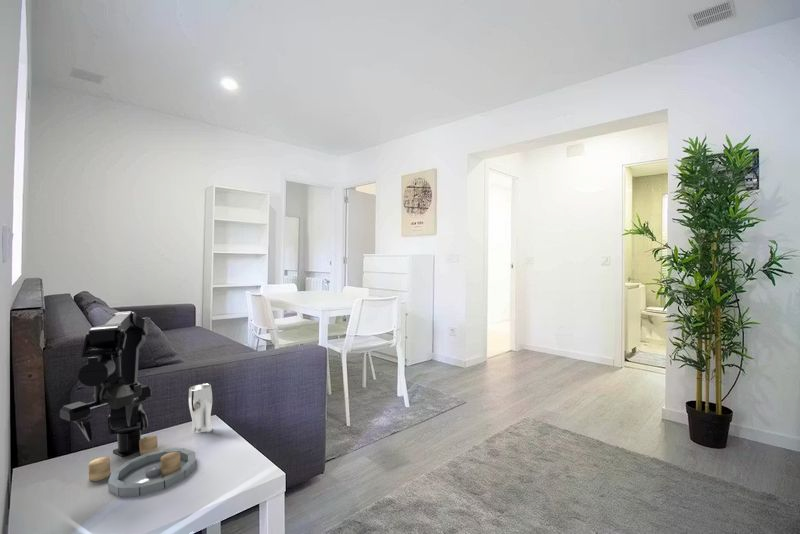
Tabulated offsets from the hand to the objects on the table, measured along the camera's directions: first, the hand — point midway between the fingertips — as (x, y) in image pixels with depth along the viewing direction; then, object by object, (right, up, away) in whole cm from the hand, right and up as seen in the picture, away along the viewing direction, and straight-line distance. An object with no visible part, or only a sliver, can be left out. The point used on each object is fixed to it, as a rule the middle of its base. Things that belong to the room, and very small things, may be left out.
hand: (110, 433), depth 100 cm
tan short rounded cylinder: (+16, -11, -1) cm, 19 cm away
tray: (+11, -12, 0) cm, 16 cm away
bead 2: (+2, -12, +12) cm, 17 cm away
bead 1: (-3, -12, 0) cm, 13 cm away
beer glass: (+10, -12, +27) cm, 31 cm away
